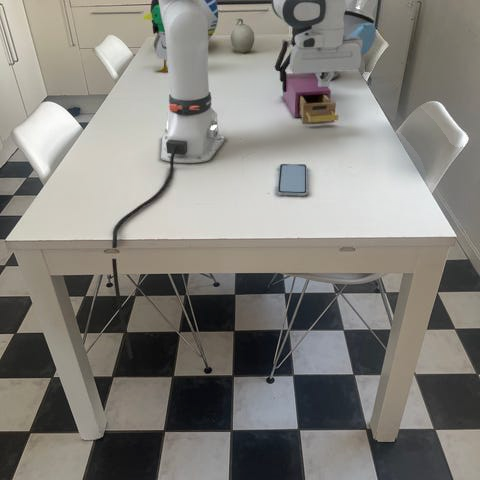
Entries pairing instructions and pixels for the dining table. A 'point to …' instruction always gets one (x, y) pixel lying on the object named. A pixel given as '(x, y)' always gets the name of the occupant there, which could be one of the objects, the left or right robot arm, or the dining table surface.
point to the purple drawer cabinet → (301, 89)
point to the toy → (158, 35)
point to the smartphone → (292, 179)
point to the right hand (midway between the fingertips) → (301, 89)
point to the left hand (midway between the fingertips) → (323, 86)
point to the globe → (208, 9)
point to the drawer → (316, 109)
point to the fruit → (242, 37)
